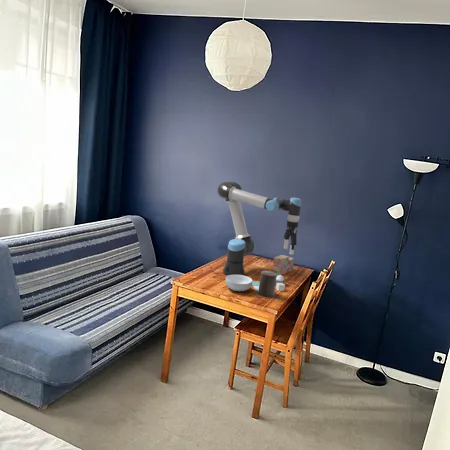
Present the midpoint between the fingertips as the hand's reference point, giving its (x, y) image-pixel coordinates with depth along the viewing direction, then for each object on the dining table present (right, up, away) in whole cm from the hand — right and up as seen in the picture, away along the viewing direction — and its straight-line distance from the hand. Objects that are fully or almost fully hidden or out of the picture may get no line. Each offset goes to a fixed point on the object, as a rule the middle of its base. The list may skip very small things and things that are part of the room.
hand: (288, 251), depth 283 cm
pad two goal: (-22, -21, -10) cm, 32 cm away
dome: (-7, -20, -5) cm, 22 cm away
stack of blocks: (-1, -17, +25) cm, 30 cm away
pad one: (-20, -23, -18) cm, 35 cm away
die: (-8, -24, -16) cm, 30 cm away
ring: (-18, -25, -27) cm, 40 cm away
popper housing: (-7, -21, -5) cm, 23 cm away
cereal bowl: (-35, -22, -24) cm, 48 cm away
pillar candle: (-18, -25, -27) cm, 41 cm away
